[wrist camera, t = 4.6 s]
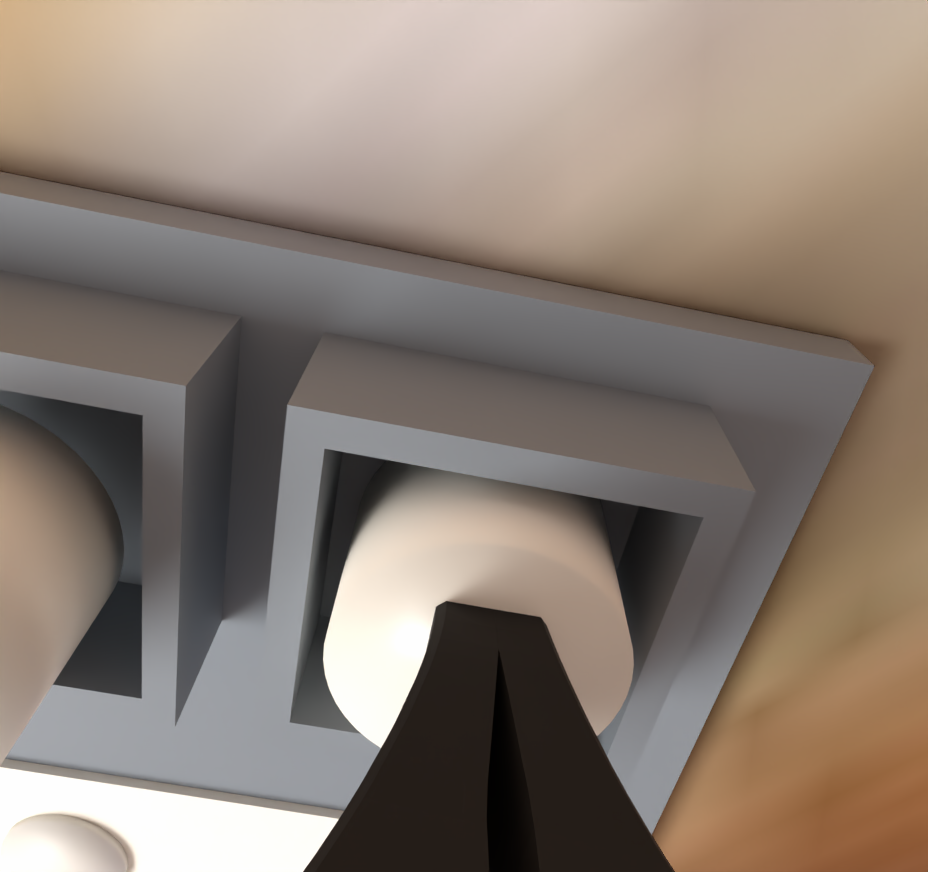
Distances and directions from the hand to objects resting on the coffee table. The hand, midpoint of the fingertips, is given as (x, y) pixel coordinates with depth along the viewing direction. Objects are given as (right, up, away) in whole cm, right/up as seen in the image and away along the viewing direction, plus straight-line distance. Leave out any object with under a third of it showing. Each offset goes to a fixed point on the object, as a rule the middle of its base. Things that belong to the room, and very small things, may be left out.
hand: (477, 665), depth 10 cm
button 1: (0, +1, +3) cm, 3 cm away
